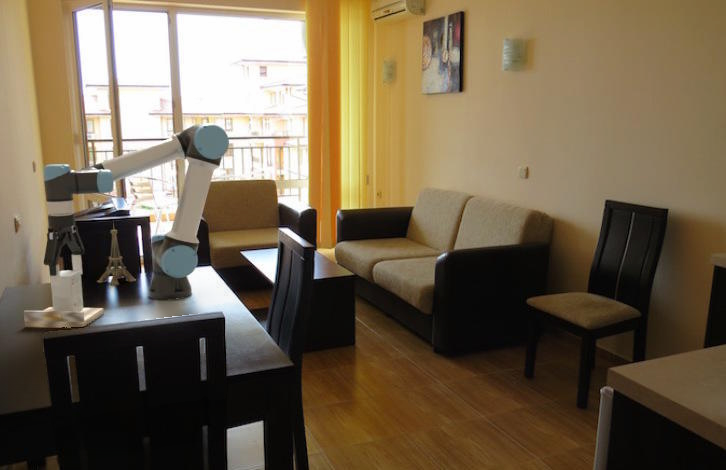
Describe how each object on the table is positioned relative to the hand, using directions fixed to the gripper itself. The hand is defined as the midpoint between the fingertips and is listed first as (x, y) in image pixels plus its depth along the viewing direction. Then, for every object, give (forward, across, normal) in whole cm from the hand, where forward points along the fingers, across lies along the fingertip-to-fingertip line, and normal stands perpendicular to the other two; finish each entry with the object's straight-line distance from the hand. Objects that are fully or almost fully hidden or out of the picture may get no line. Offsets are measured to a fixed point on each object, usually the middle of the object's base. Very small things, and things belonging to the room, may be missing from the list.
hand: (67, 279), depth 184 cm
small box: (+11, 0, 0) cm, 11 cm away
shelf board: (+13, +2, 0) cm, 13 cm away
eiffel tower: (+14, -47, -6) cm, 49 cm away
